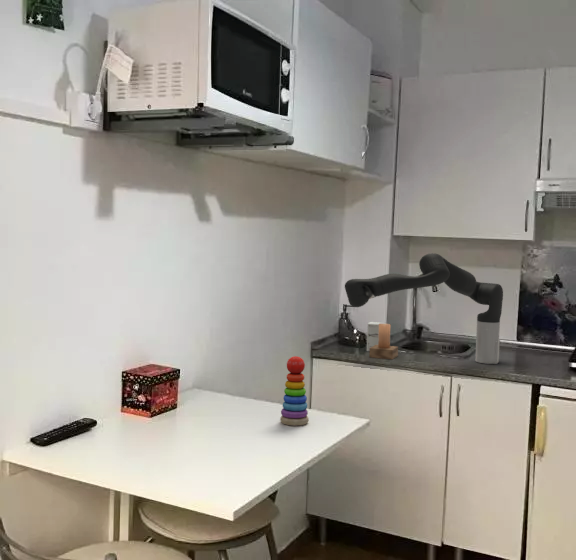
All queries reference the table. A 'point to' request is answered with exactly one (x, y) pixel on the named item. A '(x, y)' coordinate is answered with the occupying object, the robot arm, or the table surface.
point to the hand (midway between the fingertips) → (379, 286)
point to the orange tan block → (384, 336)
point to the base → (383, 352)
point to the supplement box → (372, 334)
